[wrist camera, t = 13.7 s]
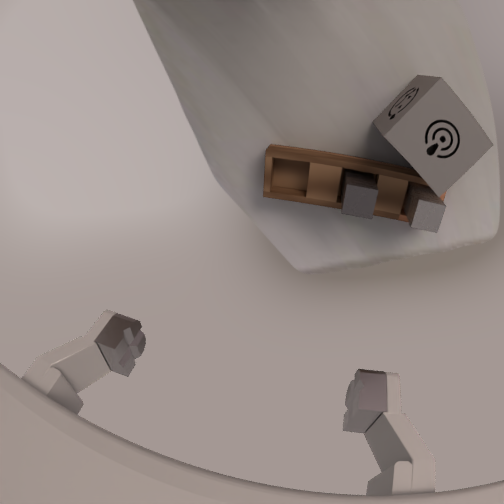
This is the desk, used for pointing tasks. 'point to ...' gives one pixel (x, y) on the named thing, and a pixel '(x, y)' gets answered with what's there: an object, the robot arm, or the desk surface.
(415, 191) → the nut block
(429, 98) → the icon cube
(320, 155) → the wooden compartment tray
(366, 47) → the desk surface
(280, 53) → the desk surface
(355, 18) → the desk surface
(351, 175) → the block
